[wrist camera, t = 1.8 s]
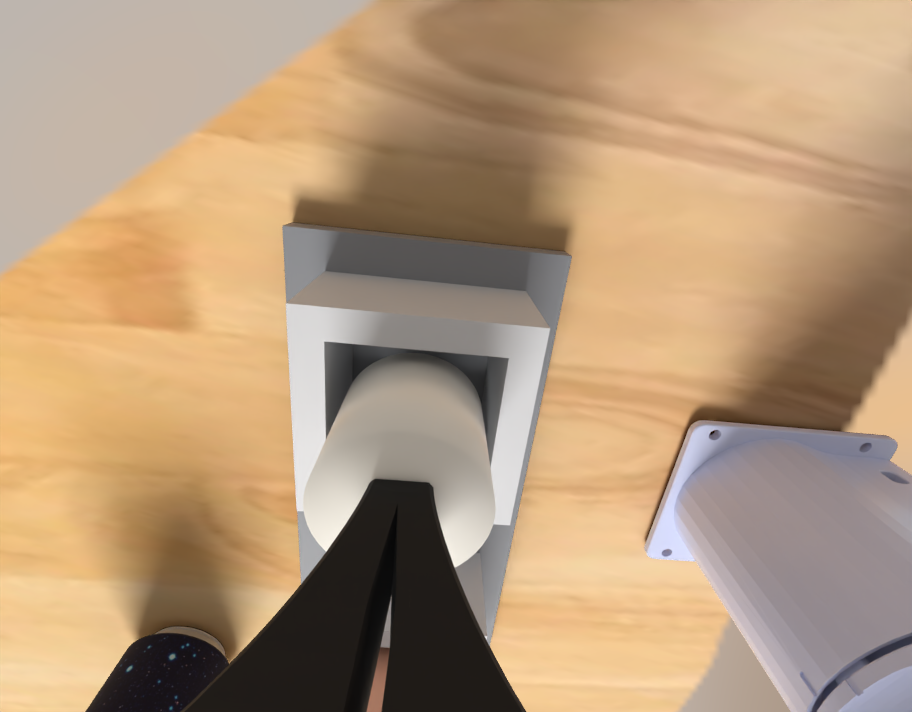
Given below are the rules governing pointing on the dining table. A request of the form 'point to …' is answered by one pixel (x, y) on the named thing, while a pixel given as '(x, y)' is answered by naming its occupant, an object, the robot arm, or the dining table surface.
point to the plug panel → (423, 352)
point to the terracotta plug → (379, 682)
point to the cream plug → (407, 449)
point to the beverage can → (162, 672)
